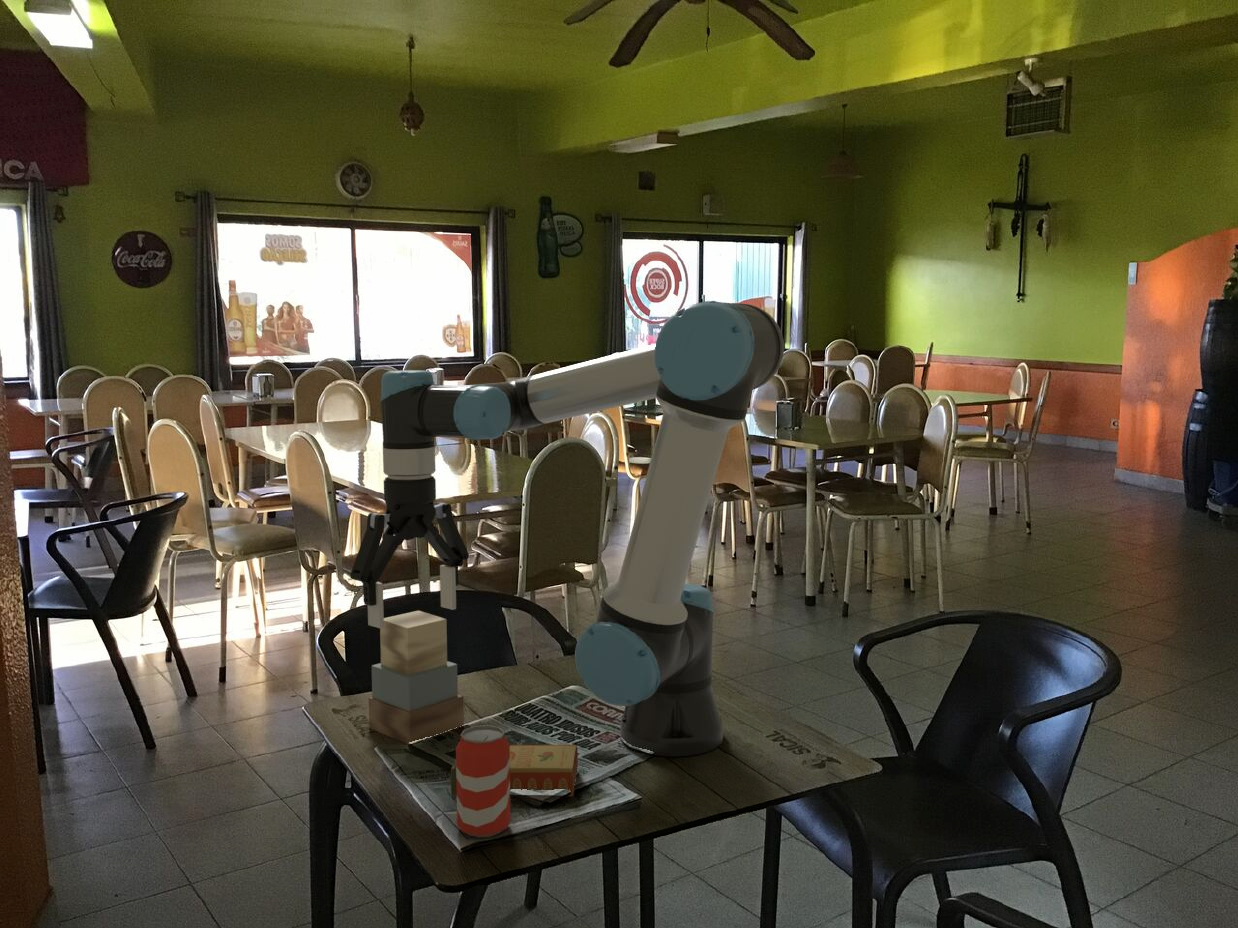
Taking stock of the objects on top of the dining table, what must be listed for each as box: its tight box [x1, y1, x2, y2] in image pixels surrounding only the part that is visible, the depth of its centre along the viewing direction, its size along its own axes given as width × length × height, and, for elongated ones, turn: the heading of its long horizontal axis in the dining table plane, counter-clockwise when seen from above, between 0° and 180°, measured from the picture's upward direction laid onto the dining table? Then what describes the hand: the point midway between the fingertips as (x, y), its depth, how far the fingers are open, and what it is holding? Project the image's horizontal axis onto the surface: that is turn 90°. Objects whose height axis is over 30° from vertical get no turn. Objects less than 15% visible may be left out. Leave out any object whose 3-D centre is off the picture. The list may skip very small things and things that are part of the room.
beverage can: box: [455, 724, 511, 839], centre depth 131 cm, size 6×6×12 cm
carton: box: [450, 744, 579, 797], centre depth 145 cm, size 8×16×4 cm, turn 88°
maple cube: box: [379, 610, 448, 675], centre depth 163 cm, size 7×7×7 cm
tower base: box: [368, 693, 465, 745], centre depth 165 cm, size 10×10×5 cm
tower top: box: [371, 660, 459, 712], centre depth 164 cm, size 9×9×5 cm
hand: (413, 616), depth 163 cm, fingers open, 13 cm apart
